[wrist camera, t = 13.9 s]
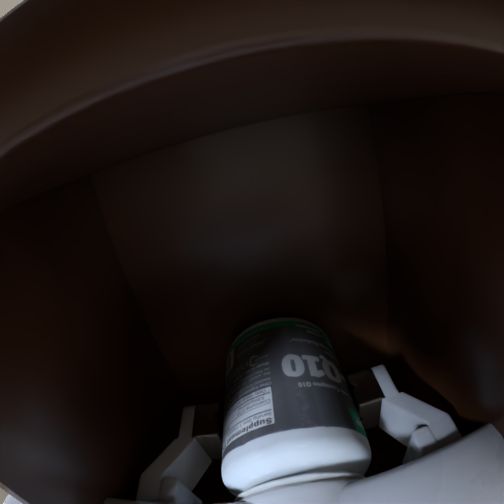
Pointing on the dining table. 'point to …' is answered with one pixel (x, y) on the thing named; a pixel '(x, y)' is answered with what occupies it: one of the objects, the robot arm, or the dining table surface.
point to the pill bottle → (289, 417)
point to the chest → (239, 216)
